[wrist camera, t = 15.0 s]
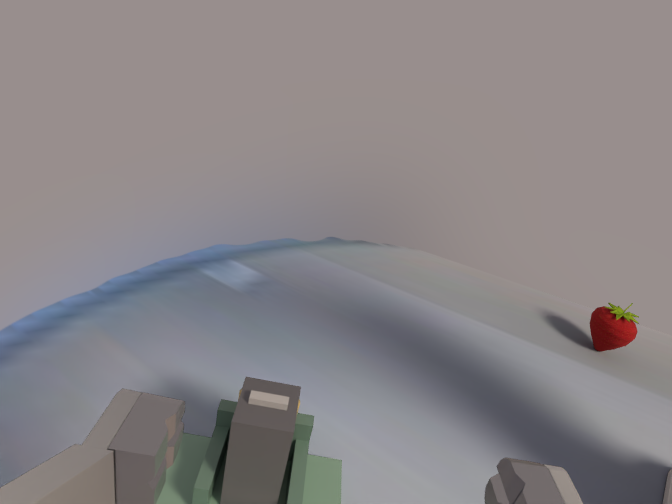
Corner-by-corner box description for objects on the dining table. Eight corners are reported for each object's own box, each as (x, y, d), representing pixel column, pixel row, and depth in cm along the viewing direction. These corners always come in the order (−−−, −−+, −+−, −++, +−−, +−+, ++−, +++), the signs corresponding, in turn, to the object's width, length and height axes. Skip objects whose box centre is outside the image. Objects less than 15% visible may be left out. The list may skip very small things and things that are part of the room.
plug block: (274, 514, 35) (295, 426, 31) (219, 505, 35) (232, 415, 30) (282, 465, 39) (302, 381, 35) (233, 457, 39) (246, 371, 34)
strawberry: (597, 337, 76) (626, 291, 71) (627, 366, 69) (661, 317, 65) (569, 334, 75) (596, 286, 70) (597, 363, 68) (628, 313, 64)
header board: (334, 615, 31) (360, 552, 27) (114, 582, 30) (111, 513, 26) (339, 466, 42) (358, 407, 38) (178, 438, 41) (181, 375, 37)
